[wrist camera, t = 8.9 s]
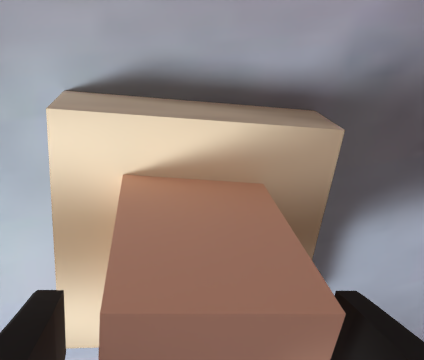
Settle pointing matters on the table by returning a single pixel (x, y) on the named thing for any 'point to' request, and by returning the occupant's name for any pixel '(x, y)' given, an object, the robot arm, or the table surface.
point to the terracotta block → (211, 277)
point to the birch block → (170, 174)
